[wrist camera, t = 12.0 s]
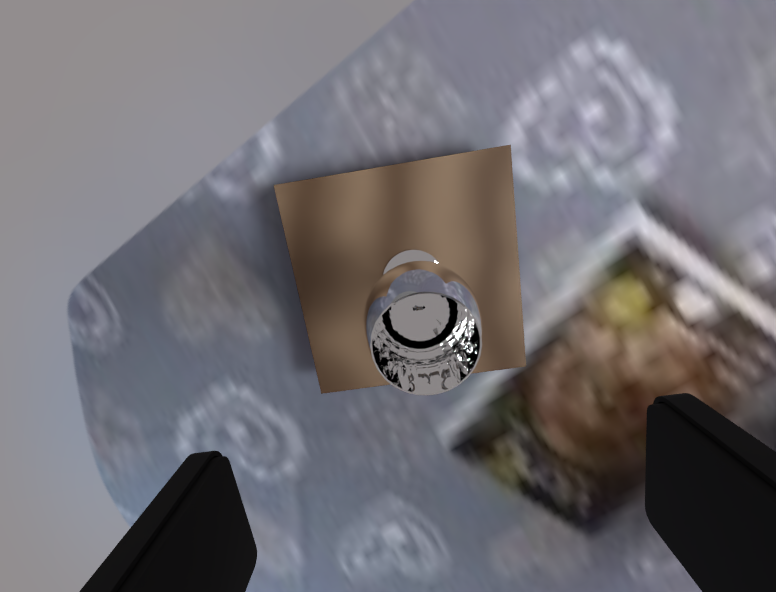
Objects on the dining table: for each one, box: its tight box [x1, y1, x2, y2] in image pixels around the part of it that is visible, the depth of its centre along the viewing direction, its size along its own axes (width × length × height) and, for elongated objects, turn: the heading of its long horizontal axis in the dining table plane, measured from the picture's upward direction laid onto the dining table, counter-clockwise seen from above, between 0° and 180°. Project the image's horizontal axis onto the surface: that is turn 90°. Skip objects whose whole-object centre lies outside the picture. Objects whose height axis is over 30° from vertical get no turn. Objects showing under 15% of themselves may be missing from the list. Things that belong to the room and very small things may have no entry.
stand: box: [274, 145, 526, 394], centre depth 29 cm, size 16×16×4 cm
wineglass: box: [363, 249, 483, 395], centre depth 21 cm, size 6×6×12 cm
